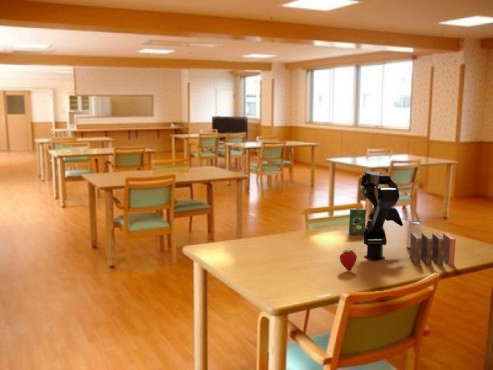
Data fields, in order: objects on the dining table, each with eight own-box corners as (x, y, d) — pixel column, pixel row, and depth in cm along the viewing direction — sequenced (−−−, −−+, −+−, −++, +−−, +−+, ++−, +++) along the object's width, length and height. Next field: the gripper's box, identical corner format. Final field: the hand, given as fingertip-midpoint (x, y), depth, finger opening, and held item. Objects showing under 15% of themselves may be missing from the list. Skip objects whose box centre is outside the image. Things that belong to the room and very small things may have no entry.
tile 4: (449, 265, 206) (450, 239, 204) (441, 257, 215) (443, 232, 214) (453, 265, 205) (455, 239, 204) (446, 257, 215) (448, 233, 214)
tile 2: (426, 264, 206) (428, 238, 205) (420, 257, 216) (421, 232, 214) (431, 264, 206) (433, 238, 204) (425, 257, 216) (426, 232, 214)
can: (418, 250, 226) (419, 224, 224) (404, 247, 230) (405, 222, 228) (422, 247, 231) (424, 221, 229) (409, 244, 235) (410, 220, 233)
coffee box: (363, 233, 257) (363, 208, 255) (365, 234, 254) (366, 209, 252) (348, 234, 255) (349, 208, 253) (350, 235, 253) (351, 210, 251)
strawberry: (336, 271, 198) (335, 246, 198) (350, 267, 203) (348, 243, 202) (347, 274, 194) (346, 248, 193) (361, 270, 198) (359, 245, 197)
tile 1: (415, 264, 207) (416, 238, 205) (409, 257, 217) (410, 232, 215) (420, 264, 207) (421, 238, 205) (414, 257, 216) (415, 232, 215)
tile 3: (437, 264, 206) (439, 238, 204) (431, 257, 216) (432, 232, 214) (442, 264, 206) (444, 239, 204) (435, 257, 216) (437, 232, 214)
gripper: (360, 205, 231) (383, 229, 232) (365, 215, 213) (390, 241, 214) (378, 189, 229) (401, 213, 230) (384, 197, 210) (410, 223, 211)
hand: (400, 223), depth 221 cm, fingers open, 9 cm apart
